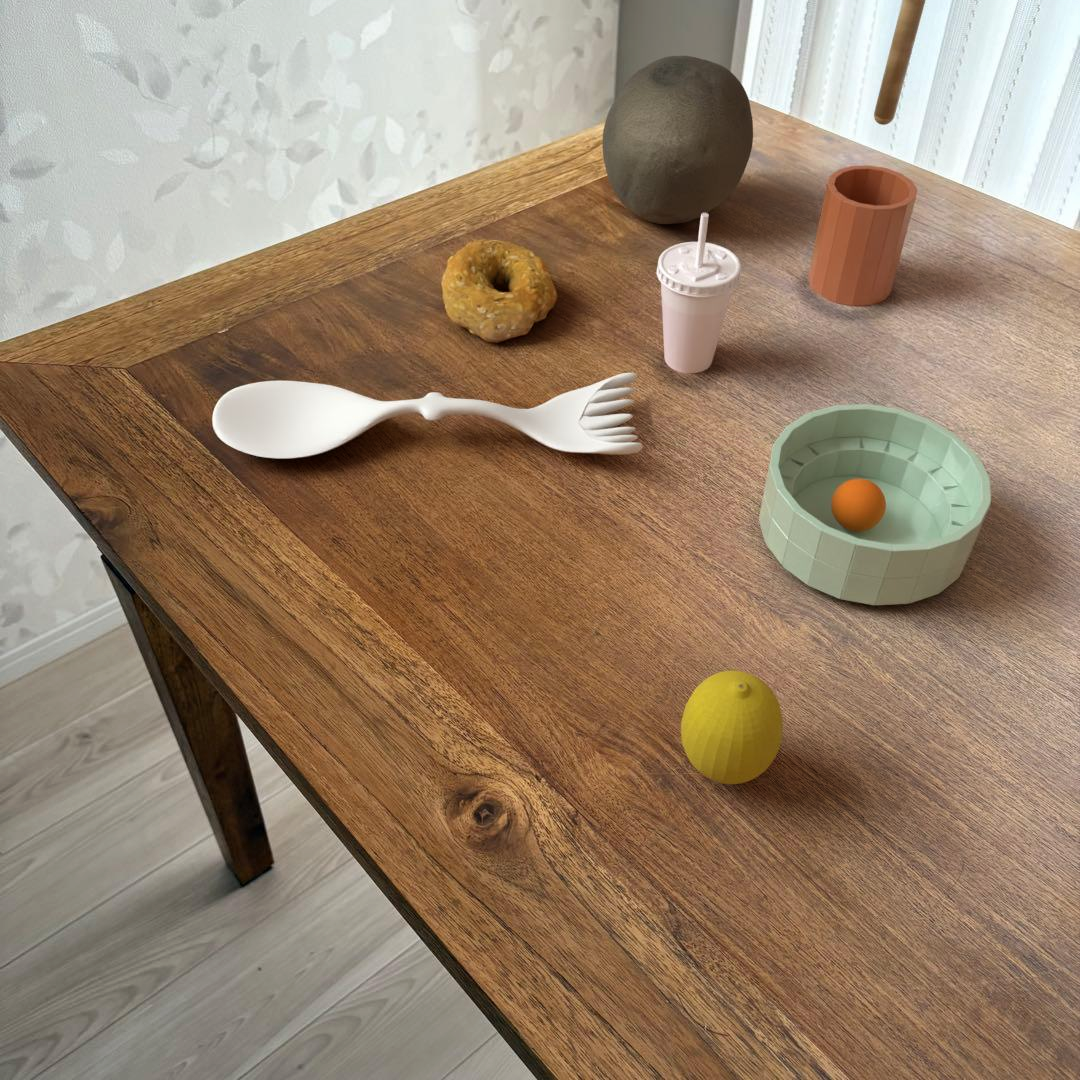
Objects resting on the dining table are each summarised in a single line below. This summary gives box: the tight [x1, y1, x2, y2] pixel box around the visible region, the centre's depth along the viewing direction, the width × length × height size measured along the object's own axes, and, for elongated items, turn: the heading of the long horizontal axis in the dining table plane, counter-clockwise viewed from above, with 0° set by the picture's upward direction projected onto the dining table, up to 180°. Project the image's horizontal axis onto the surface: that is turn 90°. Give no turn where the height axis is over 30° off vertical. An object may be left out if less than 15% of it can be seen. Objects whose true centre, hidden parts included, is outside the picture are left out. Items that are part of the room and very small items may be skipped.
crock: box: [807, 164, 918, 307], centre depth 95 cm, size 7×7×10 cm
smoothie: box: [656, 213, 742, 374], centre depth 86 cm, size 6×6×14 cm
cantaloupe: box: [601, 55, 754, 225], centre depth 102 cm, size 14×14×15 cm
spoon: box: [211, 372, 644, 460], centre depth 84 cm, size 9×32×4 cm, turn 89°
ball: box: [831, 479, 886, 531], centre depth 76 cm, size 4×4×4 cm
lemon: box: [680, 670, 784, 785], centre depth 62 cm, size 6×6×8 cm
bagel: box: [440, 238, 558, 344], centre depth 95 cm, size 10×11×5 cm
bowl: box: [758, 403, 992, 606], centre depth 75 cm, size 14×14×6 cm
